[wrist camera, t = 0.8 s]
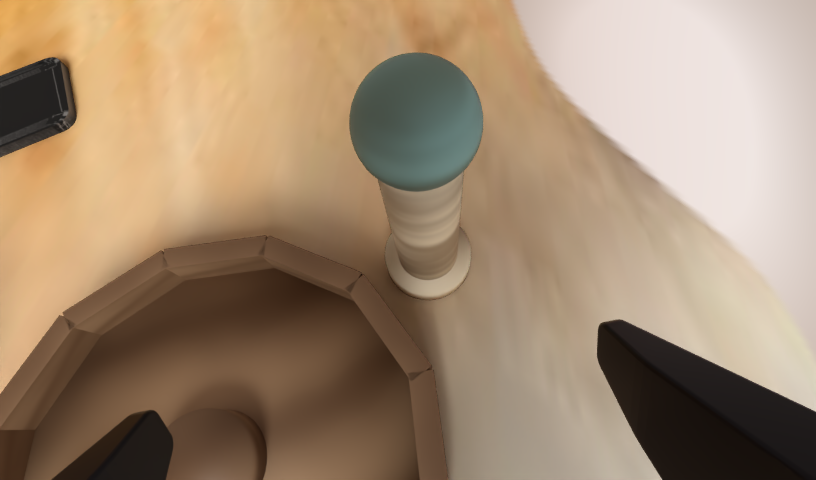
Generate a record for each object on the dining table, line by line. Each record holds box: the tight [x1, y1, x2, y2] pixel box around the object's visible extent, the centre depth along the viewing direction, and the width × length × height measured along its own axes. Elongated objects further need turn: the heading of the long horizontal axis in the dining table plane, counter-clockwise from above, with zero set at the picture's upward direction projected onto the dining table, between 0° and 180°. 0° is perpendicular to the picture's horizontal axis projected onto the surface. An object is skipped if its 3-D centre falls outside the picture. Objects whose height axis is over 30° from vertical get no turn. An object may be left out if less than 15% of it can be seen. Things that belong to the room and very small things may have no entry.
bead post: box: [349, 53, 483, 300], centre depth 18 cm, size 5×5×15 cm
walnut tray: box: [0, 235, 448, 480], centre depth 20 cm, size 22×22×3 cm
